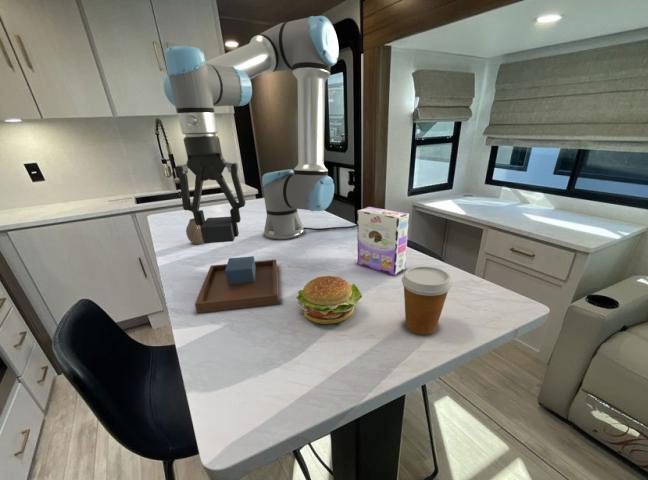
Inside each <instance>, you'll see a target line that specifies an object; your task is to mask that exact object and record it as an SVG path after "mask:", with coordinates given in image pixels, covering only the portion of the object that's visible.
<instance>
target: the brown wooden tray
mask: <svg viewBox="0 0 648 480" xmlns="http://www.w3.org/2000/svg"><path fill="white" fill-rule="evenodd" d="M226 266H227V263H224V264H223V263H222V264H213V265H210V267H209V269H208V271H207V274H206V276H205V278H204V281H203V283H202V286H201V288H200V290H199V293H198V296H197V298H196V301H195V303H194V306H195V310H196V313H197V314H204V313H213V312H221V311H229V310H238V309H239V310H240V309H246V308H257V307H265V306H272V305H273V306H274V305H279V304H280V303H279V301H280V300H279V280H278V279H279V278H278V276H279V275H278V264H277V259H266V260H255V266H256V272H255V281H254V282H248V283H238V284H228V283H227V278H226V274H225V269H226Z"/></svg>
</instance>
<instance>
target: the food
mask: <svg viewBox="0 0 648 480" xmlns="http://www.w3.org/2000/svg"><path fill="white" fill-rule="evenodd" d="M362 298H363V295H362V293H361V291H360V289H359V288H358V286H357V285H356V284H355V283H352V285H351V284H350V283H349V282H348V281H347V280H346V279H344V278H341V277H339V276H335V275H321V276H318V277H315V278H313V279H310V280H308V282H307V283H305V285H304V286H303V289H299V290H298V292H297V296H296V297H295V299H296V300H297V304H298V305H299V306H300V307H301V310H302V313H303V315H304V317H305V318H306V319H308V321H311V322H313V323H316V324H321V325H323V324H324V325H328V324H337V323H340V322H343V321H345V320H347V319H349V318H350V317H351V315H353V313H354V308H355V307H354V306H355V305H357V303H358V302H359V301H360V299H362Z"/></svg>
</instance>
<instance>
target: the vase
mask: <svg viewBox="0 0 648 480" xmlns="http://www.w3.org/2000/svg"><path fill="white" fill-rule="evenodd" d="M185 233H186V234H185V235H186V237H187V239H188V241H189V242H190V243H192V244H193V245H201V244H205V243H204V242H203V237H202V233H201V229H200V225H196V223H195V219H194V217H193V218H190V219H189V221H188V224H187V225H186V227H185Z"/></svg>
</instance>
